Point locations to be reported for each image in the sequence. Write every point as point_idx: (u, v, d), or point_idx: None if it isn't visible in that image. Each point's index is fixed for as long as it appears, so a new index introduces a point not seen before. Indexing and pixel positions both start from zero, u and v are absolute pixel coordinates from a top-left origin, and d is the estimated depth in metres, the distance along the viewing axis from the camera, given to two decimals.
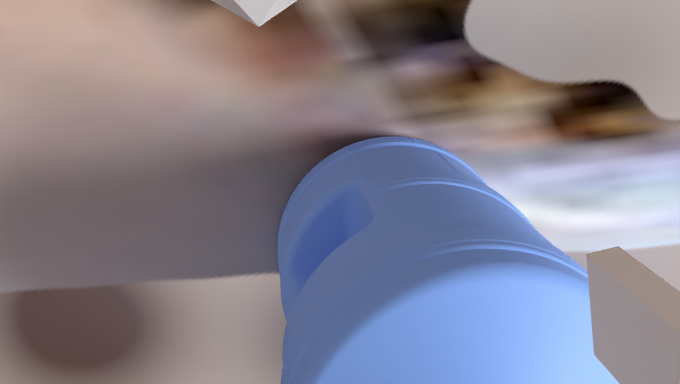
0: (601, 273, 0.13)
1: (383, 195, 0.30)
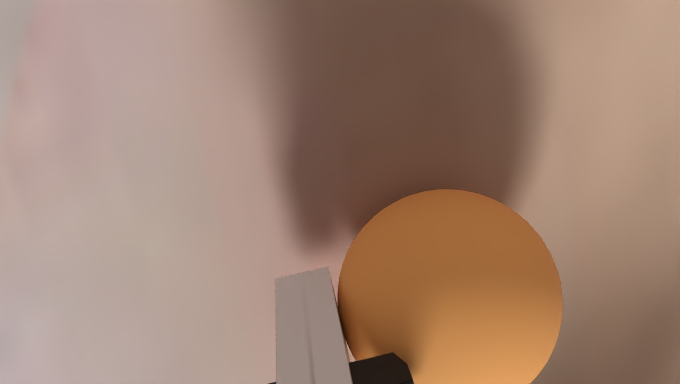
0: None
1: None
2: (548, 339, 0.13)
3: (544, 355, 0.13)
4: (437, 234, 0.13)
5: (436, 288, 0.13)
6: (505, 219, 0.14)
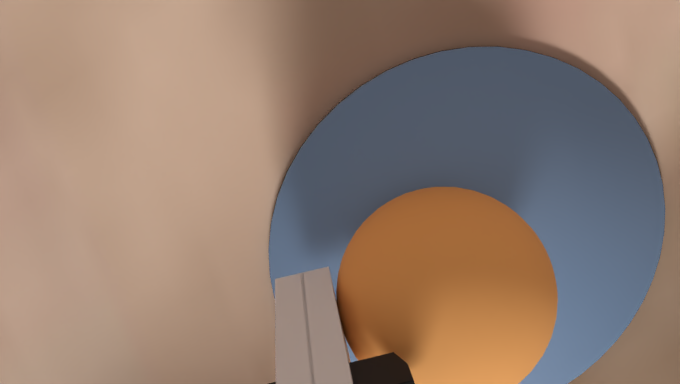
0: None
1: None
2: None
3: None
4: (487, 199, 0.15)
5: (528, 227, 0.15)
6: None
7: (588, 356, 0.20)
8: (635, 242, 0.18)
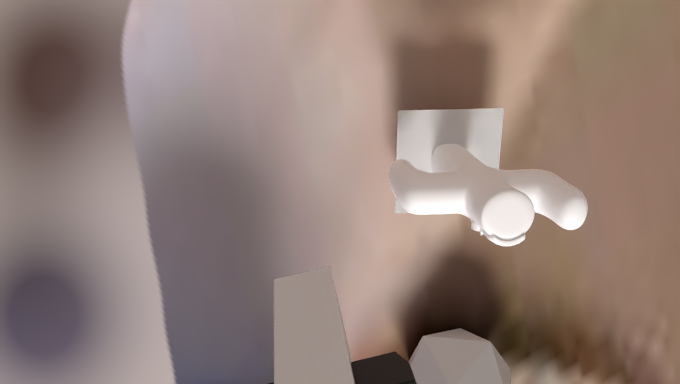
0: (304, 290, 0.15)
1: None
2: None
3: None
4: None
5: None
6: None
7: None
8: None
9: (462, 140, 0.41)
